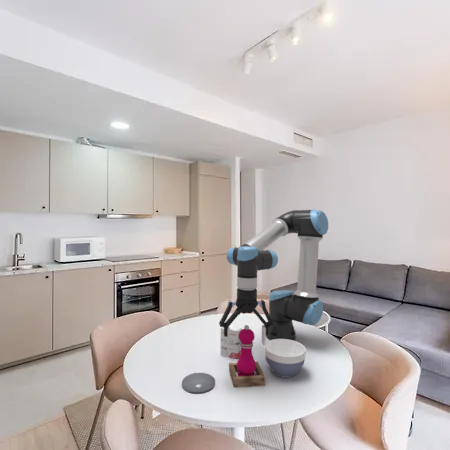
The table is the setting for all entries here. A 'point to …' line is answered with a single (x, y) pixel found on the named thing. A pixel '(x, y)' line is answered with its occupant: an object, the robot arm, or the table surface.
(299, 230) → the robot arm
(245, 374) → the pepper mill
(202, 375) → the coaster
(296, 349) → the bowl
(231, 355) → the ink box
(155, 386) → the table surface
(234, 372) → the collar
